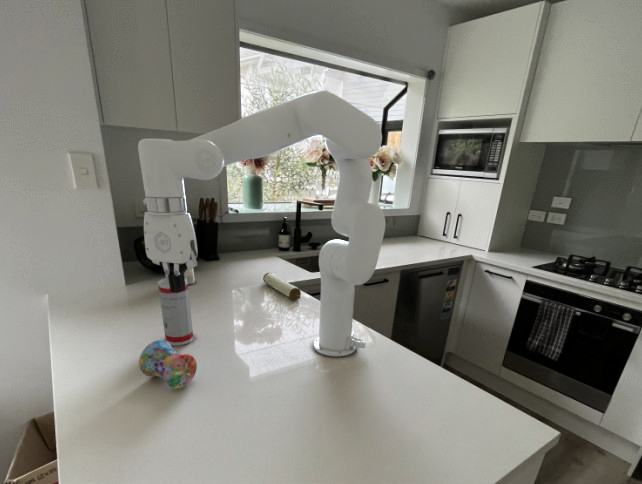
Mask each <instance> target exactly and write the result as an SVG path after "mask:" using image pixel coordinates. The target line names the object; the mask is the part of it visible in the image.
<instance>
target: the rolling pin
mask: <svg viewBox="0 0 642 484" xmlns="http://www.w3.org/2000/svg"><path fill="white" fill-rule="evenodd" d="M262 279H263V280H262V281H263V282H264V283H265V284H267V285H269V286H270V287H272V288H273V289H275V290H276V291H278V292H280V293H282V294H283V295H285V296H287V297H288V298H290V300H291V301H296V300H300V299H301V295H302V293H301V292H302V291H301V288H300V287H297V286H295V285H294V284H293V285H292V284H291V283H289V282H287V281H285V280H283V279H281V278H280V277H278V275H277V274H275V273H271V272H267V273H265V274H264V275H263V277H262Z"/></svg>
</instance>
